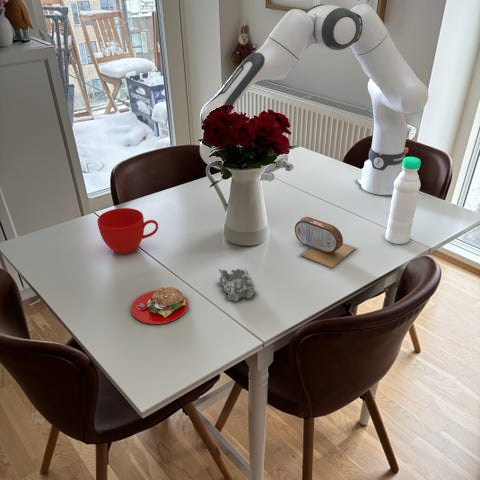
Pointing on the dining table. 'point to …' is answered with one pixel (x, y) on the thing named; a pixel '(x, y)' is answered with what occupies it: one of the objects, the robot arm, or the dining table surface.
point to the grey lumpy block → (237, 284)
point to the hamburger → (159, 306)
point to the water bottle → (404, 202)
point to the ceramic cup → (123, 229)
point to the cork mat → (328, 255)
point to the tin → (318, 235)
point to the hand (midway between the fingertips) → (282, 172)
